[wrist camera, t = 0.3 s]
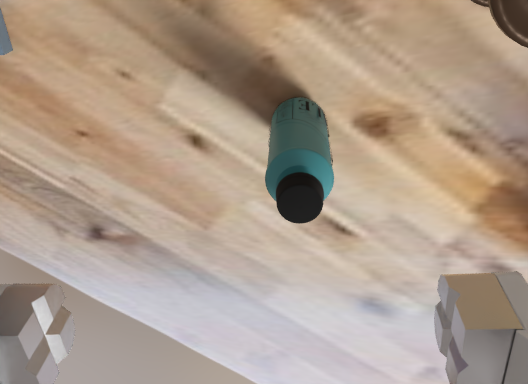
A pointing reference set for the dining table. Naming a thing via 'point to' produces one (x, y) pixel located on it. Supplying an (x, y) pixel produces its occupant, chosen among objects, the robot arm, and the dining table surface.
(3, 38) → the switch board
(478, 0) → the candlestick
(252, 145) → the dining table surface
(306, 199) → the beverage bottle
